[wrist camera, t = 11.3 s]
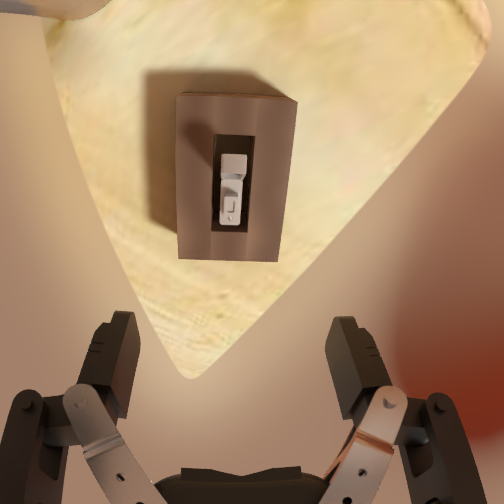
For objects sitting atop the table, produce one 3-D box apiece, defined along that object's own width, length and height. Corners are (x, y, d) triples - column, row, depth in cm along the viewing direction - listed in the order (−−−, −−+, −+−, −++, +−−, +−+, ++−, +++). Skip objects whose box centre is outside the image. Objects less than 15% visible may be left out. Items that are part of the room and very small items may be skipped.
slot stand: (183, 237, 33) (178, 258, 30) (183, 92, 25) (176, 96, 22) (272, 240, 34) (277, 262, 30) (289, 97, 26) (297, 102, 23)
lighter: (238, 204, 31) (241, 248, 25) (220, 204, 31) (218, 247, 24) (243, 133, 28) (247, 157, 21) (224, 132, 27) (221, 155, 21)
